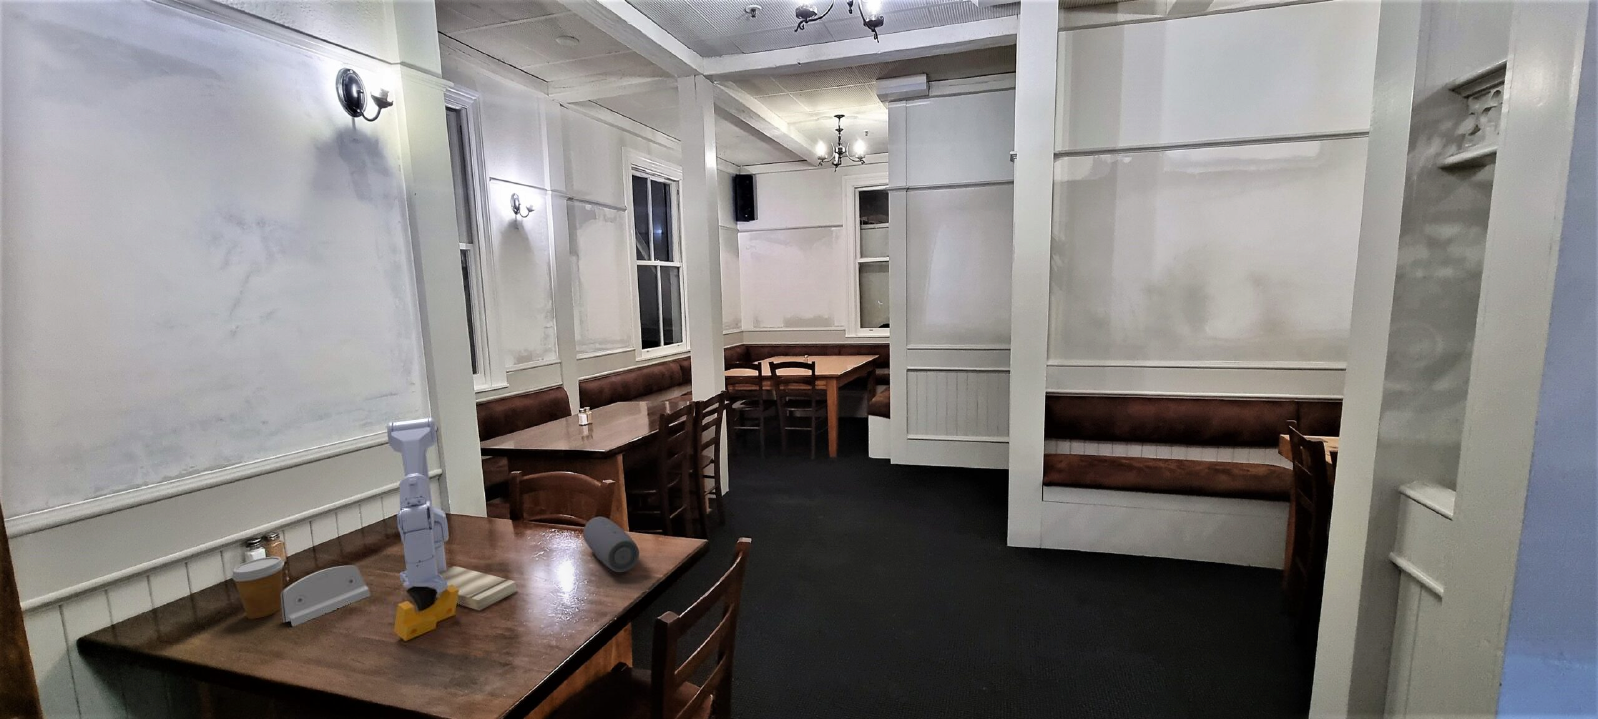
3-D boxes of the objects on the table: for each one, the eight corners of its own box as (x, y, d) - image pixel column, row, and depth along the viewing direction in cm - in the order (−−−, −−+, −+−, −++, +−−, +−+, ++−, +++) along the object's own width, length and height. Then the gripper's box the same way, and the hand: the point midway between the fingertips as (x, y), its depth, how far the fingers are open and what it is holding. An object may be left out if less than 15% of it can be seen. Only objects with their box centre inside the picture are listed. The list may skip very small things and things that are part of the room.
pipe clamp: (405, 640, 130) (409, 613, 129) (393, 631, 132) (398, 604, 131) (459, 618, 141) (463, 592, 140) (447, 609, 142) (452, 584, 141)
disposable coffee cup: (299, 604, 150) (292, 557, 149) (254, 624, 141) (247, 575, 140) (273, 600, 153) (267, 554, 152) (228, 619, 145) (220, 570, 143)
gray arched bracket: (291, 627, 139) (279, 584, 140) (284, 629, 142) (272, 587, 143) (372, 594, 154) (361, 556, 154) (364, 597, 156) (353, 559, 157)
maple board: (417, 591, 154) (416, 582, 154) (455, 574, 163) (454, 565, 162) (479, 610, 143) (478, 599, 142) (516, 591, 152) (515, 581, 151)
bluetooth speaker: (643, 571, 160) (640, 533, 158) (607, 581, 154) (604, 543, 153) (615, 544, 178) (612, 510, 177) (582, 553, 173) (579, 518, 172)
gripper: (383, 559, 137) (390, 617, 138) (422, 570, 130) (429, 631, 132) (415, 547, 143) (421, 603, 145) (453, 557, 136) (460, 615, 138)
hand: (427, 615), depth 139 cm, fingers closed
